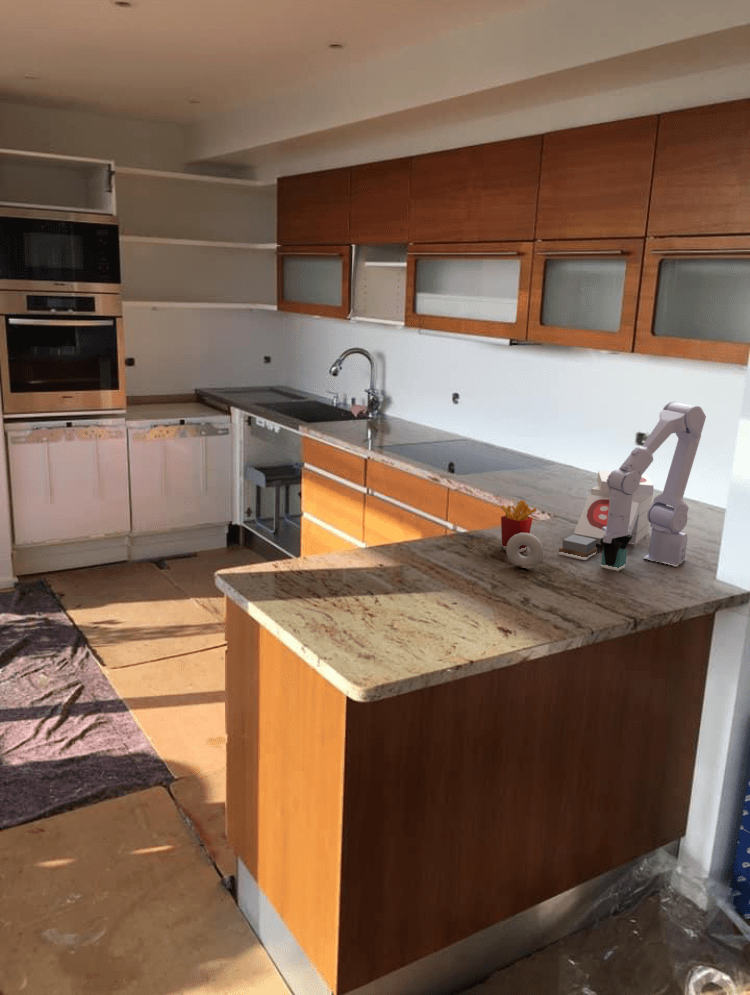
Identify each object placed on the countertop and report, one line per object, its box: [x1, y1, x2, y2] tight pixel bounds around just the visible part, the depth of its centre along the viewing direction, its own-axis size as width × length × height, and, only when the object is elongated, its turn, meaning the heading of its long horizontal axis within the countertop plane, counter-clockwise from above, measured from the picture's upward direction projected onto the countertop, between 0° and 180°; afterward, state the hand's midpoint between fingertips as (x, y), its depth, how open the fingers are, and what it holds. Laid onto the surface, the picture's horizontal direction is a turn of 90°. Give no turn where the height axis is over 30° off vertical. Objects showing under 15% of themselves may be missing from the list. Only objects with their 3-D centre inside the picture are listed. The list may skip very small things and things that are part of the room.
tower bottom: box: [558, 546, 598, 557], centre depth 238 cm, size 8×8×2 cm
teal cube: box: [600, 548, 628, 568], centre depth 227 cm, size 5×5×5 cm
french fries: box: [500, 499, 537, 549], centre depth 237 cm, size 9×8×15 cm
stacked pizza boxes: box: [573, 470, 654, 546], centre depth 252 cm, size 19×30×18 cm, turn 149°
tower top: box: [561, 533, 597, 553], centre depth 237 cm, size 7×7×2 cm
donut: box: [505, 533, 544, 567], centre depth 223 cm, size 10×4×10 cm, turn 68°
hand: (613, 562), depth 228 cm, fingers closed on teal cube, 5 cm apart
